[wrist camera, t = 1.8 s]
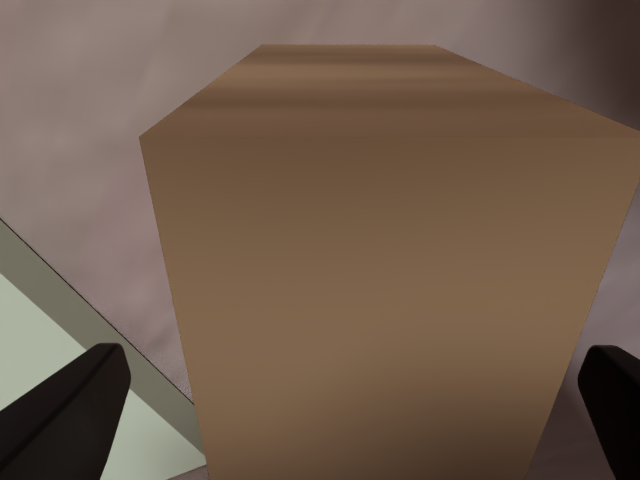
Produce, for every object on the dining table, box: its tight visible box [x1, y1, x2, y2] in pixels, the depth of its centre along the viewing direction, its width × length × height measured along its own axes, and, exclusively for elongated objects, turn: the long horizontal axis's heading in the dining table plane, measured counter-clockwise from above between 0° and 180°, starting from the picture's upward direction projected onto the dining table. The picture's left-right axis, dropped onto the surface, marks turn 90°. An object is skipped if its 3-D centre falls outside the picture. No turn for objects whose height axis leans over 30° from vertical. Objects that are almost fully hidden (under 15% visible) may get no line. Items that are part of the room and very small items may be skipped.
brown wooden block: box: [139, 45, 640, 480], centre depth 9 cm, size 10×4×7 cm, turn 0°
